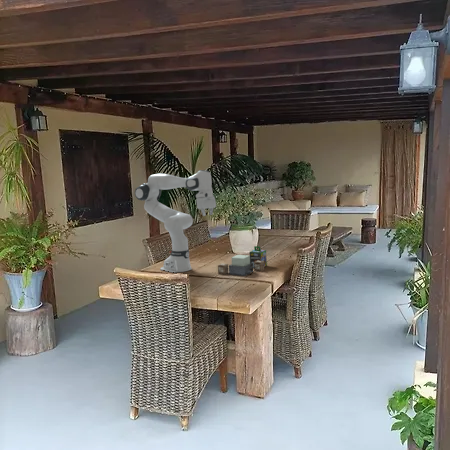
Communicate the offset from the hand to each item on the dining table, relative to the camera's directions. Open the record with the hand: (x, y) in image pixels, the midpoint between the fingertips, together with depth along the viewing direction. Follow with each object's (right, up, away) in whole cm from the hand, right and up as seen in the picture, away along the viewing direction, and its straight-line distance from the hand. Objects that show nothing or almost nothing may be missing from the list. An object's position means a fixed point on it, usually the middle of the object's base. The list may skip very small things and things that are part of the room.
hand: (207, 215), depth 291 cm
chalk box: (+35, -36, +17) cm, 53 cm away
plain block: (+22, -35, +1) cm, 42 cm away
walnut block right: (+35, -37, +7) cm, 51 cm away
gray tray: (+22, -38, +2) cm, 44 cm away
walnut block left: (+10, -39, +3) cm, 40 cm away
